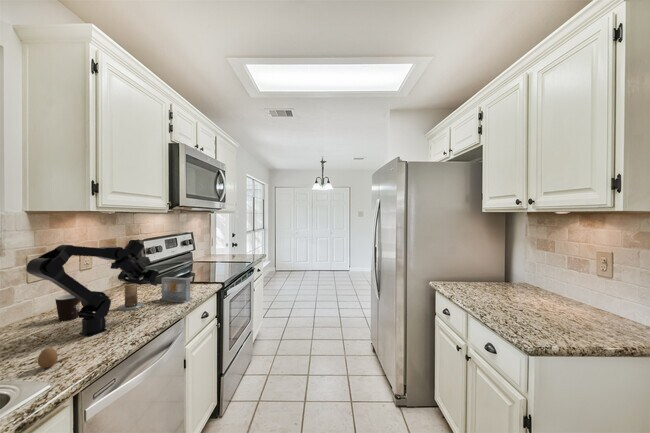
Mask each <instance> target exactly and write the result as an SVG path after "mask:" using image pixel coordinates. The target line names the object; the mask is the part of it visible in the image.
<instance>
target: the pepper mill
mask: <svg viewBox="0 0 650 433" xmlns="http://www.w3.org/2000/svg"><path fill="white" fill-rule="evenodd" d="M137 302H138V284H134V283H129V282H125V283H124V304H125V307H126V308H129V307H135V306H137Z"/></svg>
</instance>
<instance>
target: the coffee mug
mask: <svg viewBox="0 0 650 433" xmlns="http://www.w3.org/2000/svg"><path fill="white" fill-rule="evenodd" d="M54 299H55V307H56V311H57V318H58V321H59V322H61V321H63V322H69V321H74V320H76V319H78V318H79V316H78V312H79V311H80V305H81V301H80V300H79V299H77V298H76V297H74V296H73V295H71V294H70V293H69V294H65V295H61V296H60V295H59V296H57V297H55V298H54Z"/></svg>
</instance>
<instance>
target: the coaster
mask: <svg viewBox="0 0 650 433" xmlns="http://www.w3.org/2000/svg"><path fill="white" fill-rule="evenodd" d="M143 307H145V303H144V302H138V301H137V306H135V307H129V308H126V307H125V303H124V304H121V305H120V306H118V307H117V310H118V311H122V312H124V311H134V310H137V309H141V308H143Z"/></svg>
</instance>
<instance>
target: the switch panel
mask: <svg viewBox="0 0 650 433" xmlns="http://www.w3.org/2000/svg"><path fill="white" fill-rule="evenodd" d="M192 300H193V297H191V278H187V277H176V276H175V277H174V276H173V277H172V276H164V277H161V298H159V301H160V302H171V303H183V304H186V303H188V302H190V301H192Z"/></svg>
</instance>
